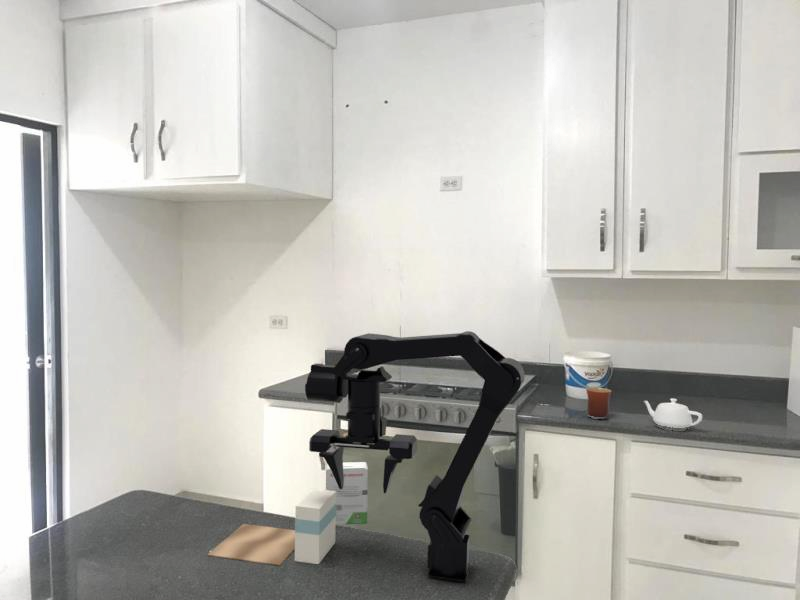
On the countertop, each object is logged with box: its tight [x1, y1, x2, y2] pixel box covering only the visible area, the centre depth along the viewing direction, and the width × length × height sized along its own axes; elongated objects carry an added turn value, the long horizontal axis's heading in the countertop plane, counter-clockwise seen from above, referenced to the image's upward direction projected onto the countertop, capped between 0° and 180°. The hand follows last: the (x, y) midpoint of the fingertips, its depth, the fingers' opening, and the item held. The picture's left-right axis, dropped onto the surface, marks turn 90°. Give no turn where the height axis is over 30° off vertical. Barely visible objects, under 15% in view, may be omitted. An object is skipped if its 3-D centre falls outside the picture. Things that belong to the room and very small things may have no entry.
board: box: [206, 523, 295, 567], centre depth 118 cm, size 14×14×1 cm
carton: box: [294, 488, 337, 565], centre depth 115 cm, size 5×9×10 cm, turn 167°
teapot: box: [643, 397, 703, 428], centre depth 215 cm, size 20×12×10 cm, turn 44°
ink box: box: [325, 461, 369, 526], centre depth 130 cm, size 9×5×12 cm, turn 96°
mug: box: [585, 387, 613, 417], centre depth 228 cm, size 12×9×10 cm
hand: (363, 490), depth 113 cm, fingers open, 8 cm apart
